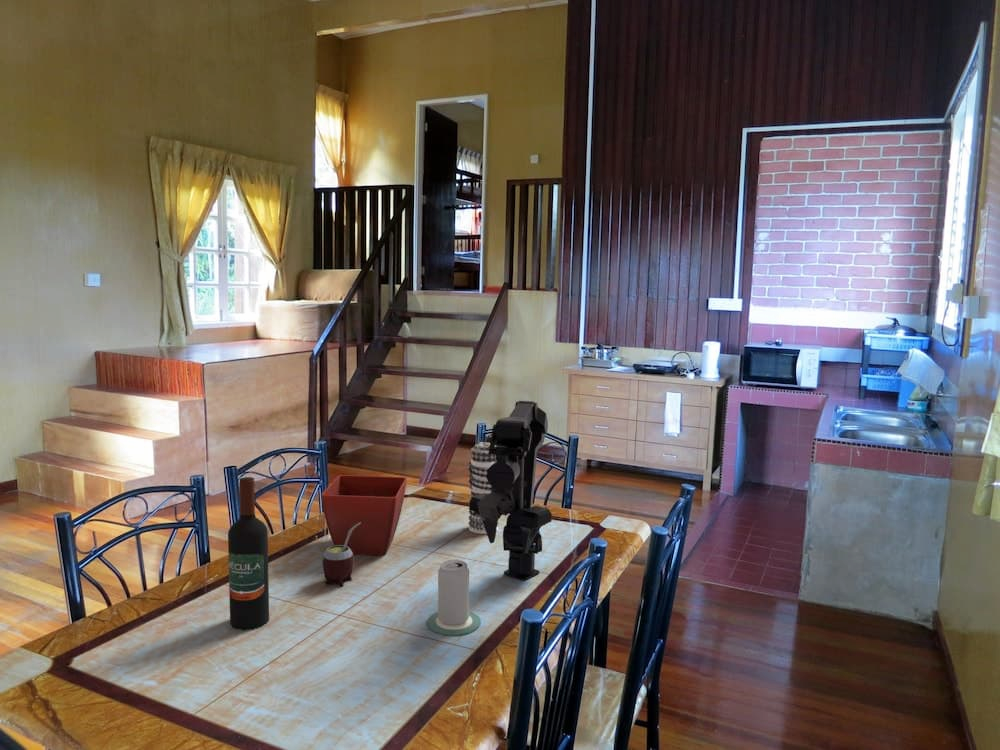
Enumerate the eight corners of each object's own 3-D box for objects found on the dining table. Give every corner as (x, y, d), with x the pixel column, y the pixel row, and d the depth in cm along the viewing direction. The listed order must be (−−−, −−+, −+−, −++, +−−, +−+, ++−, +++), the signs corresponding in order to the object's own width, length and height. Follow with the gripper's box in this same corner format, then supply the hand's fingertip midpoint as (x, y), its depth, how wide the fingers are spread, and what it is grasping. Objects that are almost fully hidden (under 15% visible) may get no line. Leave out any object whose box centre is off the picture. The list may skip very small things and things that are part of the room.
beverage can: (472, 624, 146) (473, 568, 145) (442, 629, 144) (442, 572, 143) (464, 611, 152) (464, 557, 151) (434, 615, 150) (434, 560, 149)
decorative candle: (462, 525, 209) (463, 441, 206) (491, 522, 213) (493, 439, 210) (474, 535, 201) (476, 448, 198) (504, 531, 205) (506, 446, 202)
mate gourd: (319, 578, 169) (319, 517, 167) (352, 573, 173) (352, 513, 171) (327, 590, 163) (327, 526, 161) (361, 584, 166) (361, 522, 164)
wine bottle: (276, 616, 149) (274, 476, 146) (253, 632, 142) (250, 485, 139) (246, 610, 152) (243, 472, 148) (221, 626, 145) (218, 481, 141)
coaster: (452, 606, 156) (452, 604, 156) (491, 621, 149) (491, 619, 149) (416, 624, 147) (416, 621, 147) (456, 641, 141) (456, 638, 141)
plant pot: (395, 561, 181) (396, 496, 179) (320, 559, 181) (319, 494, 179) (407, 535, 200) (407, 476, 198) (338, 533, 200) (338, 475, 198)
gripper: (452, 477, 153) (451, 547, 155) (522, 494, 142) (520, 569, 144) (485, 467, 162) (484, 534, 164) (554, 482, 151) (551, 554, 152)
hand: (508, 547), depth 156 cm, fingers open, 9 cm apart
